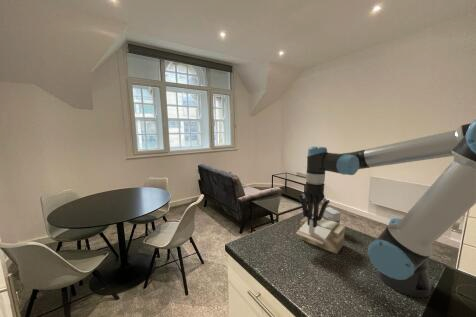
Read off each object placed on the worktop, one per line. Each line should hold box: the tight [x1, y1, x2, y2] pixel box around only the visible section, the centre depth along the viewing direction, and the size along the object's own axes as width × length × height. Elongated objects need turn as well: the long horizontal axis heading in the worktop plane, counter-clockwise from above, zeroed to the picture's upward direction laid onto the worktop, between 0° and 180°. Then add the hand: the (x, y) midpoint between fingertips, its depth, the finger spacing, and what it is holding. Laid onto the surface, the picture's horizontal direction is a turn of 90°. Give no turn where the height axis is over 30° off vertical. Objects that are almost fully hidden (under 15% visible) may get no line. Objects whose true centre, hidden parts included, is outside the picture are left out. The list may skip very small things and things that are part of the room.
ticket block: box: [299, 216, 346, 255], centre depth 98 cm, size 18×10×11 cm, turn 46°
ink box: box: [322, 206, 341, 224], centre depth 110 cm, size 8×5×12 cm, turn 17°
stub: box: [295, 222, 331, 244], centre depth 90 cm, size 12×10×1 cm
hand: (311, 232), depth 88 cm, fingers closed
